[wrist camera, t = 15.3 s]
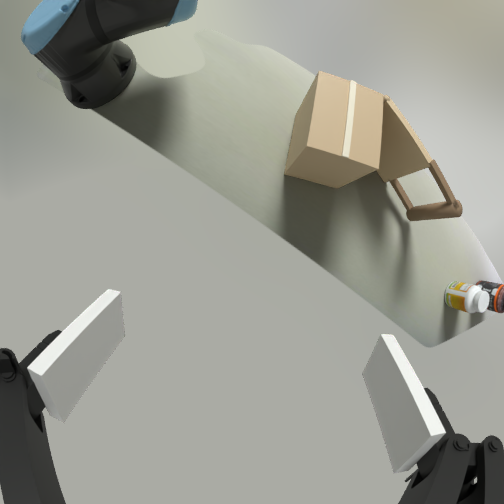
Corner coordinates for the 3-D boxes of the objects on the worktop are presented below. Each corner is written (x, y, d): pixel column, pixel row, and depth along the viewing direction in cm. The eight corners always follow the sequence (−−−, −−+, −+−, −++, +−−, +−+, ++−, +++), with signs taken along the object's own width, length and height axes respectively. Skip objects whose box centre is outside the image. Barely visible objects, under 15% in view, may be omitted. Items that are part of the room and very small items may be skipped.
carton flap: (344, 131, 42) (380, 96, 29) (353, 125, 42) (391, 91, 29) (405, 224, 44) (456, 220, 30) (413, 216, 44) (464, 211, 30)
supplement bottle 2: (468, 290, 46) (504, 298, 35) (482, 275, 46) (517, 280, 35) (473, 311, 46) (508, 321, 35) (486, 295, 47) (520, 303, 35)
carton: (295, 114, 42) (319, 69, 28) (345, 129, 43) (384, 93, 28) (283, 174, 42) (307, 145, 28) (337, 188, 43) (379, 168, 29)
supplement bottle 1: (454, 310, 46) (485, 320, 36) (440, 302, 45) (472, 312, 36) (463, 286, 46) (494, 293, 36) (449, 277, 45) (482, 283, 36)
